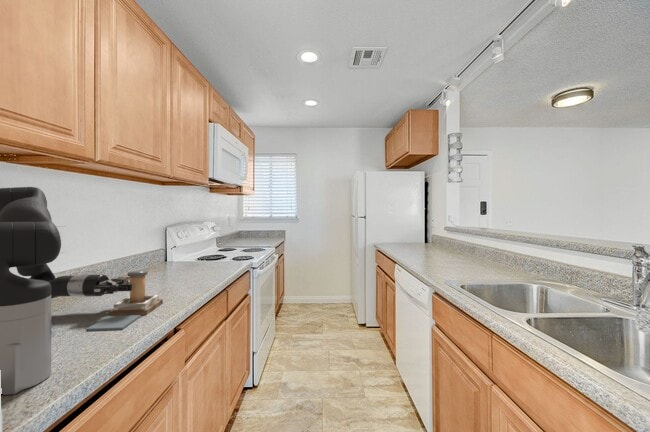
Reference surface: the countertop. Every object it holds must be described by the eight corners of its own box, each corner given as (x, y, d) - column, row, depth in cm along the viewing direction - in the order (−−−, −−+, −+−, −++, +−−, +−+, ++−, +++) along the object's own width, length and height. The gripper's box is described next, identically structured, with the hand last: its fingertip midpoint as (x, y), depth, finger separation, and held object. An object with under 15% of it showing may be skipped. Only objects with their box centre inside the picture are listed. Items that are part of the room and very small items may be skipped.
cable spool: (142, 307, 98) (142, 273, 98) (123, 308, 97) (123, 273, 97) (150, 302, 104) (150, 270, 104) (133, 302, 103) (133, 270, 103)
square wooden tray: (146, 314, 96) (146, 304, 96) (108, 315, 94) (108, 305, 94) (162, 303, 108) (162, 294, 107) (129, 304, 106) (129, 295, 106)
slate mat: (122, 329, 84) (123, 327, 84) (86, 330, 82) (86, 328, 82) (140, 316, 94) (140, 315, 94) (108, 317, 92) (108, 316, 92)
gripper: (73, 279, 91) (126, 278, 94) (102, 270, 106) (148, 270, 108) (73, 302, 92) (126, 301, 94) (102, 290, 106) (148, 289, 108)
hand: (138, 284), depth 101 cm, fingers open, 8 cm apart
